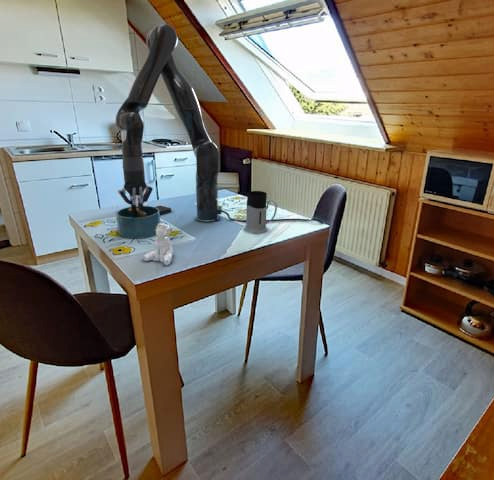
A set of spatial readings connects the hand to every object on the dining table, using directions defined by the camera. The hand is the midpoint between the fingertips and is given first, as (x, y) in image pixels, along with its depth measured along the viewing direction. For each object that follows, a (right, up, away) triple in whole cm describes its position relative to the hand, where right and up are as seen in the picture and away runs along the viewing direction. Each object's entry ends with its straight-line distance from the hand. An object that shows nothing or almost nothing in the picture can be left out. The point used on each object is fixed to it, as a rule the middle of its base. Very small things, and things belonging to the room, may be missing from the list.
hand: (137, 213), depth 134 cm
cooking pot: (0, -7, +3) cm, 7 cm away
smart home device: (-1, +1, +22) cm, 22 cm away
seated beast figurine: (+14, -17, -21) cm, 30 cm away
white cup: (-8, +5, +33) cm, 34 cm away
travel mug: (+48, -7, +3) cm, 49 cm away
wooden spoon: (0, -1, 0) cm, 1 cm away
